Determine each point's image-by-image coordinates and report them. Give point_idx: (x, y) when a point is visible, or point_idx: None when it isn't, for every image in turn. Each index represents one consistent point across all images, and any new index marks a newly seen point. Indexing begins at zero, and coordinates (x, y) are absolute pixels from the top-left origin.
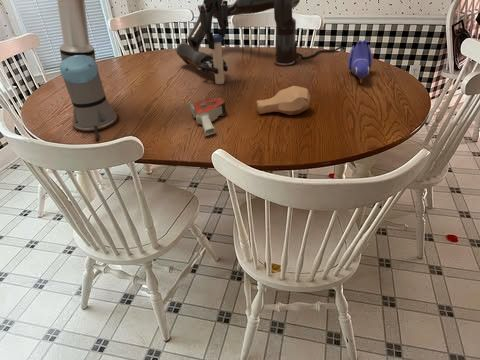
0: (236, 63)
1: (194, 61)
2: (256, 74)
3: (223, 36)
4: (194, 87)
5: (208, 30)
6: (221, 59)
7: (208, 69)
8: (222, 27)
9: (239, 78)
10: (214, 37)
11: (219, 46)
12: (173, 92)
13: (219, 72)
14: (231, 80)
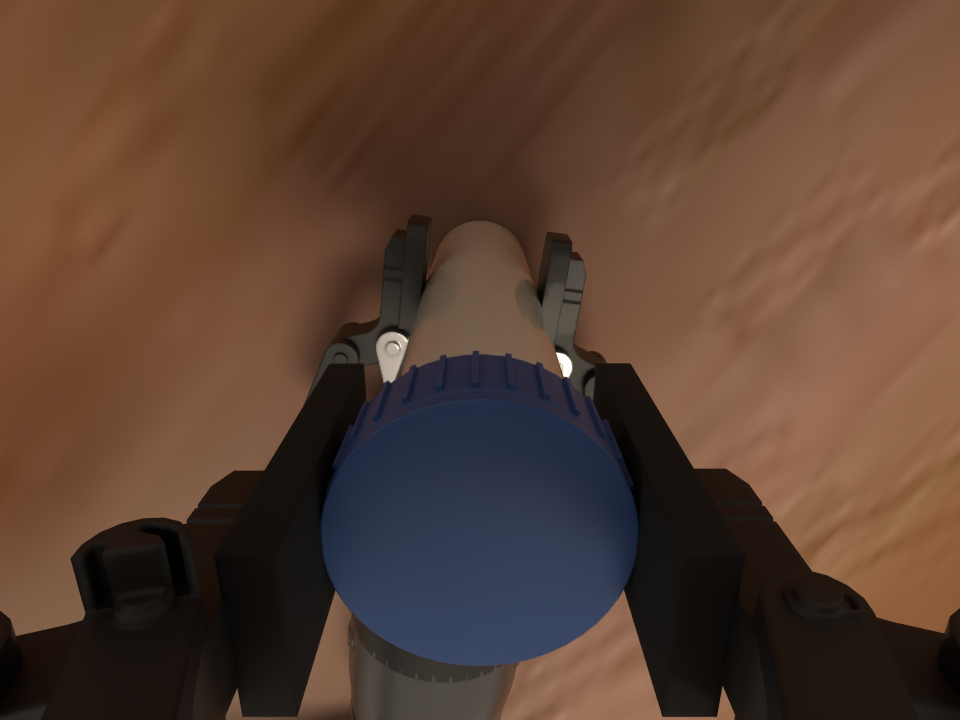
0: (57, 524)
1: None
2: (59, 139)
3: (293, 452)
4: (715, 353)
5: (877, 652)
6: (467, 278)
7: (591, 361)
8: (198, 637)
9: (270, 196)
10: (596, 473)
11: (488, 341)
12: (903, 400)
13: (510, 252)
14: (365, 218)
